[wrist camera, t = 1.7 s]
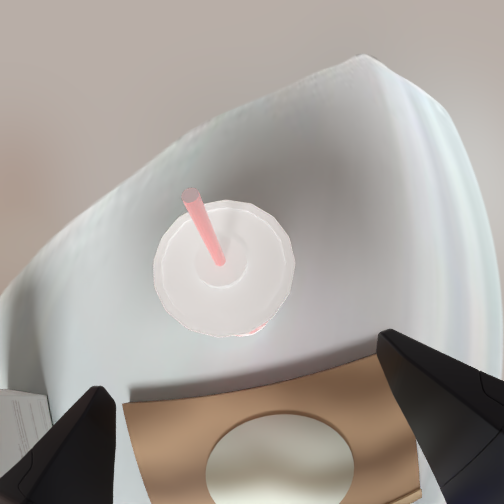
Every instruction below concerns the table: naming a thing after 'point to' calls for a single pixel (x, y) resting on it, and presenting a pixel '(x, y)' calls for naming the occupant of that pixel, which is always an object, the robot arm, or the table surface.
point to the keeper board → (280, 443)
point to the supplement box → (20, 425)
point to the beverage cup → (223, 267)
